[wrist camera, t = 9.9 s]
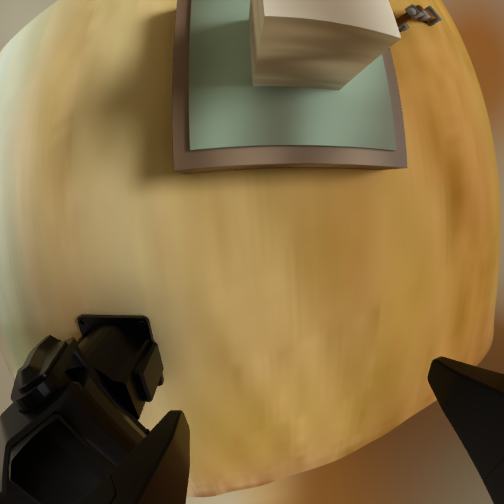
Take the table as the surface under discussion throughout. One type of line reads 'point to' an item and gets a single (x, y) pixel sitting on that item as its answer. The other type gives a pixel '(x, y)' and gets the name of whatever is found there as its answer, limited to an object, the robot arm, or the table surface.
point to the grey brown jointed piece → (417, 16)
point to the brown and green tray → (272, 105)
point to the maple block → (317, 40)
